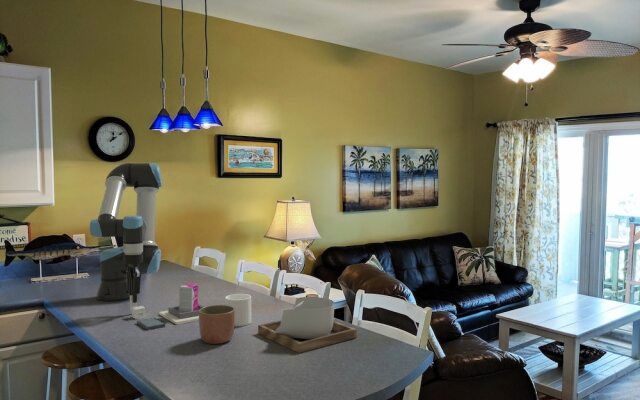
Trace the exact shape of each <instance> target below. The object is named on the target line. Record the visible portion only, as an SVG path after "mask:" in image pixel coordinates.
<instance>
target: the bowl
mask: <svg viewBox="0 0 640 400" xmlns="http://www.w3.org/2000/svg"><path fill="white" fill-rule="evenodd" d="M334 316H335V301H334V300H332V299H329V298H324V297H321V296H319V297H318V296H317V297H316V296H303V297H296V299H295V302H294V308H292V309H285V310H283V312H282V316H281V319H280V321H281V324H280V326H279V327H278V328H277V329H276V330H275V333H279V334H283V335H285V336H287V337H290V338H292V339H299V340H300V339H303V340H310V339H314V338H318V337H322V336H326V335H330V334H331V332H332V331H333V330H332V328H333V322H334V321H335V317H334Z"/></svg>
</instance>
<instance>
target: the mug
mask: <svg viewBox="0 0 640 400" xmlns="http://www.w3.org/2000/svg"><path fill="white" fill-rule="evenodd" d="M224 300H225V301H224V302H225V303H224V305H227V306H232V307H234V308H235V323H234V328H235V327H246V326H249V325H250V324H251V323H252V295H250V294H247V293H246V294H245V293H234V294H233V293H232V294H228V295H226V296H225V297H224Z"/></svg>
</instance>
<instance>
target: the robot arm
mask: <svg viewBox="0 0 640 400" xmlns="http://www.w3.org/2000/svg"><path fill="white" fill-rule="evenodd" d="M104 185H105V191H104V195H103V198H102V201H101V206H100V210H99V213H98V217H97V218H95V219H94V218H93V219H91V220H90V222H89V233H90V236H91V237H93V238H111V237H112V238H117V237H122V240H123V242H122V243H123V244H122V246H118V247H112V248H107V249H105V250H104V249H103V250H102V251H101V252H100V257H99V258H100V259H99V262H100V263H99V264H100V265H99V266H100V283H99V286H98V289H97V293H96V300H98V301H102V302H114V301H115V302H116V301H122V300H127V299H129V310H130V311H131V312H132V308H133V307H139V305H138V300H139V299H138V295H139V294H140V293H141V279H142V275H151V274H157V273H158V272H159V268H160V265H161V259H162V258H161V257H162V250H161V249H160V248H159V245H158V244H157V243H156V242H155V241H156V237H155V236H156V234H155V233H156V194H157V193H158V192H160V189H159V188H162V186H163V179H162V171H161V168H160V166H159V164H157V163H152V162H146V163H145V162H143V163H141V162H140V163H139V162H138V163H137V162H135V163H134V162H133V163H132V162H124V163H122V164H119V165H117V166H116V167H114V168H113V169H112V170H111V171H110V172H109V173H108V174H107V176H106V178H105V182H104ZM128 187H129V188H133V191H134V192H135V194H136V215H126V216H124V217H123V218H118V215H119V211H120V208H121V204H122V203H121V202H122V198H123V194H124V191H126V189H127V188H128Z"/></svg>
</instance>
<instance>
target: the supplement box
mask: <svg viewBox="0 0 640 400" xmlns="http://www.w3.org/2000/svg"><path fill="white" fill-rule="evenodd" d="M178 290H179V292H178V293H179V295H178V296H179V302H178V303H179V304H178V306H179V312H181V313H185V312H191V311H196V310H198V304H199V284H192V283H191V284H190V283H185V284H183V285H180V286H179V289H178Z"/></svg>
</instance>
